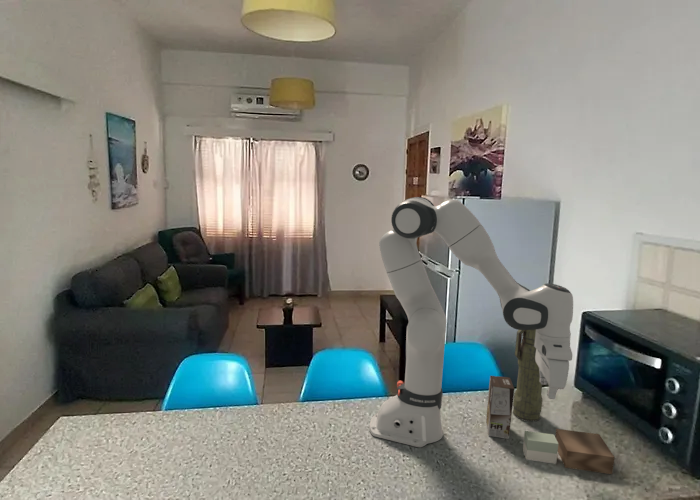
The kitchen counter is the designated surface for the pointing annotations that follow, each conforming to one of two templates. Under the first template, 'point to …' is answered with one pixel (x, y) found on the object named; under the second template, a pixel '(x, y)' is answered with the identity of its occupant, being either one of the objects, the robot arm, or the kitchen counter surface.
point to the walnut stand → (584, 451)
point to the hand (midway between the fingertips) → (546, 390)
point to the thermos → (527, 379)
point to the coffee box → (499, 406)
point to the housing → (540, 447)
